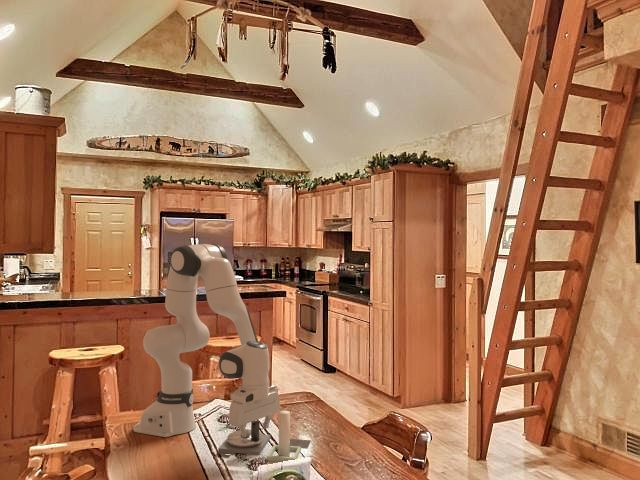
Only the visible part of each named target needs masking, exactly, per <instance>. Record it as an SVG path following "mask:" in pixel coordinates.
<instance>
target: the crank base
mask: <svg viewBox="0 0 640 480" xmlns="http://www.w3.org/2000/svg"><path fill="white" fill-rule="evenodd" d="M270 440H271V434H263V442H262V443H261V444H259V445H257V446H254V447H249V448H238V447H233V446H231V445H229V444H228V442H227V438H226V439H225V440H224V441H223V442H222V444H221V445H220V446H219V447H218V449H217V455H219V454H231V455H233V454H244V455H258V456H260V455H261V453H262V452H263V450H264V449H265V447H266V445H267V444H268V443H269V441H270Z"/></svg>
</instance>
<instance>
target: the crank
mask: <svg viewBox="0 0 640 480" xmlns="http://www.w3.org/2000/svg"><path fill="white" fill-rule="evenodd" d="M250 423H251V424H250V429H246V430H247V431H249V433H248V436H247V437H242V431H241V429H238V430H235V431H233V432H230V433H229V434H228V435H227V437H226V439H227V442H228V444H229V445H231V446H233V447H238V448H249V447H254V446H257V445H259V444H261V443H262V442H263V435H264V434H263V433H262V432H260V431H261V430H260V428H261V425H260V423H261V421H259V420H255V421H252V422H250Z"/></svg>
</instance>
